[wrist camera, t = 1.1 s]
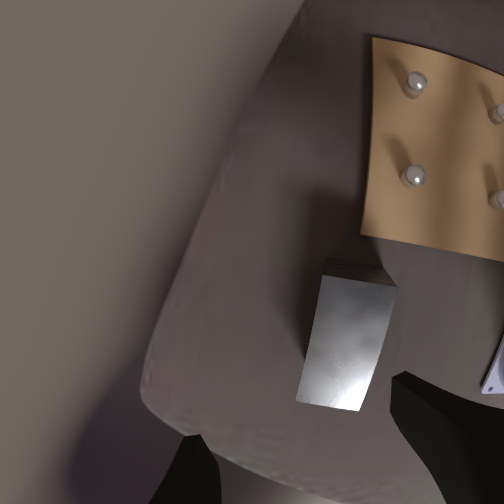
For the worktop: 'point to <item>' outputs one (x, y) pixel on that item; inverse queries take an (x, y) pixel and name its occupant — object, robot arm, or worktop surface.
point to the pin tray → (435, 152)
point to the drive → (346, 334)
